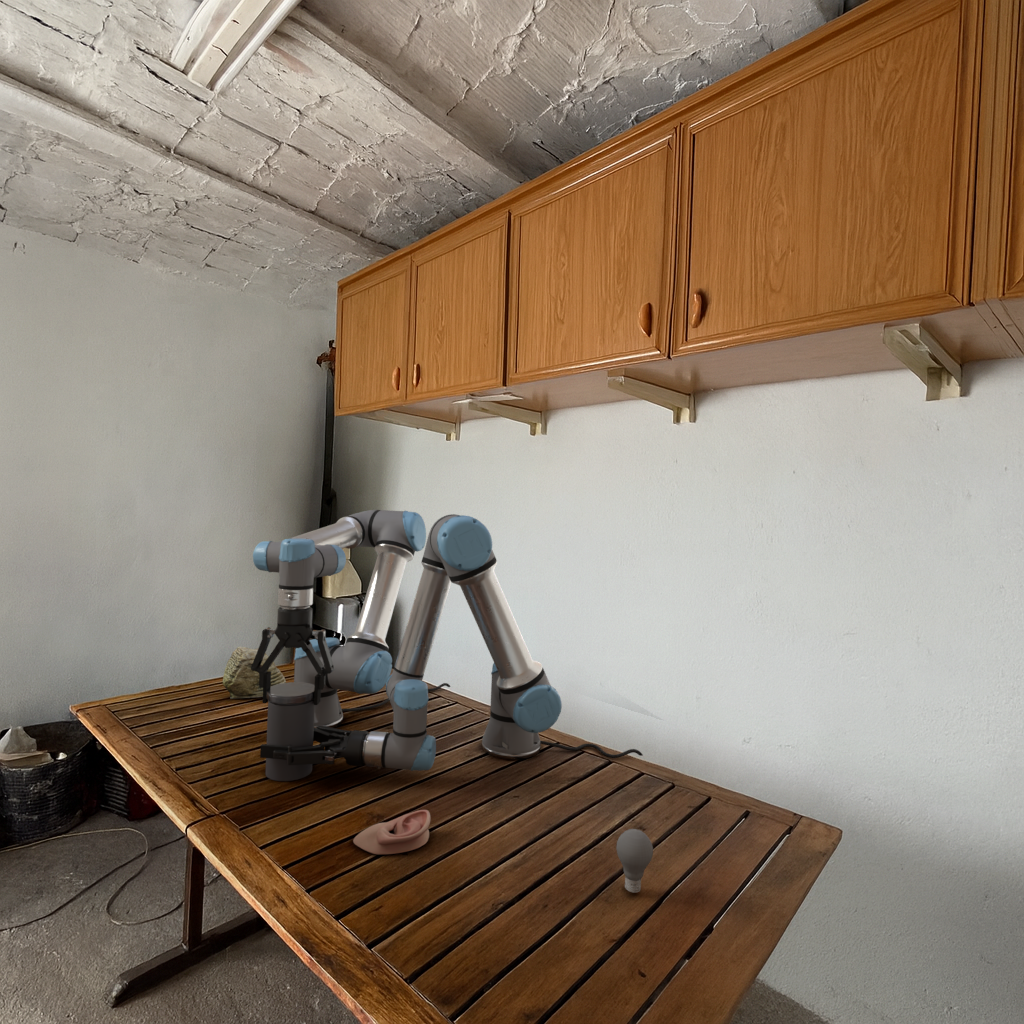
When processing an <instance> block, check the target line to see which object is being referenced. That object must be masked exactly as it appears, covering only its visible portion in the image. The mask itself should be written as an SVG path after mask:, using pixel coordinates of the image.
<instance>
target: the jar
mask: <svg viewBox="0 0 1024 1024" xmlns="http://www.w3.org/2000/svg"><path fill="white" fill-rule="evenodd" d="M314 711H315V705H314V699H312V700H310V701H307V702H303V703H296V704H278V703H273V702H270V701H268V702H267V723H266V724H267V725H266V745H280V746H289V745H291V747H292V748H299V747H307V746H314V742H313V737H314ZM311 773H313V764H306V765H287V760H285V759H271V758H265V776H266V778H267V779H269V780H272V781H276V782H292V781H297V780H301V779H303V778H306V777H307V776H310V774H311Z"/></svg>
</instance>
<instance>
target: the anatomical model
mask: <svg viewBox="0 0 1024 1024" xmlns="http://www.w3.org/2000/svg"><path fill="white" fill-rule="evenodd" d="M430 824H431V813H430V811H429V810H428V809H420V810H419V809H418V810H416V811H412V812H409V813H405V814H403V815H401V816H398V817H396V818H394V819H391V820H389V821H385V822H378V823H375V824H373V825H370V826H369V827H367V828H365V829H364V830H362V831H360V832H359V833H358V834H357V835H355V837H354V838H353V839H352V842H353V844H354V845H355V846H356V847H358V848H360V849H362V850H363V851H365V852H368V853H369V854H374V855H378V856H379V855H393V854H400V853H402V854H403V853H406V852H410V851H413V850H417V849H419V848H421V847H422V846H424V845H426V844H427V842H428V841H429V838H430V830H429V827H430Z"/></svg>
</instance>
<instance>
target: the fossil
mask: <svg viewBox="0 0 1024 1024" xmlns="http://www.w3.org/2000/svg"><path fill="white" fill-rule="evenodd" d="M258 648H259V647H258ZM258 648H251V647H247V646H246V647H245V646H238V647H237V648H236V649H235V650H233V651H232V653H231V656H230V657H229V659H228V660H227V663H226V666H225V668H224V671H223V675H222V676H223V677H222V685H223V687H224V688H225V690H226V691H228V693H229V698H230V699H250V698H263V688H260V687H259V673H258V672H256V671H252V670H251V666H252V664H253V661H254V659H255V656H256V654H257V651H258ZM269 656H270V655H268V654H267V652H265V655H264V658H263V660H262V663H261V665H263V664H264V663H265V661H266V660H267V658H268V657H269ZM267 672H271V686H274V685H277V684H281V683H287V680H286V678H285V676H284V674H283V673H282V672H281V669H279V668H278V667H277V665H276V663H275V661H274V662H273V663H272V664H271V666H270V667H269V669H268V670H267Z"/></svg>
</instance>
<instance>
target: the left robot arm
mask: <svg viewBox="0 0 1024 1024" xmlns="http://www.w3.org/2000/svg"><path fill="white" fill-rule="evenodd" d="M426 543H427V528H426V524H425V521H424V519H423V517H422V515H420V514H419V513H418V512H416V511H409V510H386V509H369V510H362V511H360V512H356V513H352V514H350V515H345V516H343V517H340V518H339V519H338V520H337V521H336V522H335V523H333V524H329V525H327V526H323V527H320V528H318V529H314V530H311V531H308V532H304V533H302V534H298V535H295V536H291V537H289V538H285V539H282V540H279V541H273V540H267V541H265V540H264V541H260V542H258V543H257V545H256V546H255V548H254V549H253V553H252V562H253V565H254V566H255V568H256V569H257V570H259V571H263V572H268V573H278V574H279V575H278V576H279V577H278V590H277V591H278V593H277V595H278V597H277V605H278V606H279V607H278V609H277V620H276V628H272V627H269V626H268V627H266V628H264V629H263V630H262V631H261V640H260V643H259V646H258V651H257V654H256V656H255V659H254V661H253V664H252V666H251V670H252V671H256V672H258V673H259V687H260V688H263V697H262V704H268V700H267V698H266V693H267V689H268V688H269V687H271V672H267V670H268V669H269V667H270V666H271V664H272V663H273V662H274V663H275V660H276V659H277V658H278V656H279V655H280V653H281V652H282V650H283V649H284V648H286V649H291V648H293V649H295V652H294V653H295V654H294V658H293V660H294V672H293V682H304V683H310V684H313V685H315V687H314V705H315V711H314V728H317V726H318V725H321V726H326V727H331V728H335V729H336V728H337V727H339V726H340V725H342V723H343V722H344V714H343V712H345V713H346V712H358V711H359V712H360V711H367V710H371V709H375V708H379V707H381V706H384V705H385V704H387V703H388V702H390V700H389V698H388V697H387V698H386V699H385V700H383V701H382V702H379V703H376V704H373V705H367V706H362V707H353V708H342V706H341V702H340V699H339V695H338V691H345V692H351V693H356V694H358V695H362V694H366V695H373V694H376V693H378V692H380V691H381V690H382V689H383V688H384V687H385V686H386V682H387V680H388V678H389V677H390V675H391V674H392V669H393V664H392V663H393V657H392V655H391V653H390V652H389V648H390V647H389V646H388V643H387V642H386V638H387V635H388V631H389V628H390V625H391V621H392V617H393V612H394V610H395V606H396V603H397V598H398V594H399V593H400V592H399V591H400V588H401V584H402V581H403V577H404V573H405V569H406V567H407V563H409V562H411V561H412V560H413V559H414V556H415V552H417V553H419V552H420V551H423V549H425V547H426ZM355 548H374V551H375V553H376V555H377V557H376V560H375V563H374V568H373V570H372V574H371V577H370V581H369V584H368V588H367V591H366V594H365V597H364V601H363V605H362V607H361V611H360V613H359V617H358V620H357V624H356V627H355V630H354V632H353V634H351V635H349V636H347V638H346V641H345V644H344V645H340V644H341V641H340V639H339V638H337V637H327V631H326V629H323V628H322V629H321V630H318V629H314V628H313V608H312V607H311V606H312V605H313V604H314V579H315V578H322V577H331V576H333V575H336V574H337V575H338V574H339V573H341V572H342V571H343V570H344V568H345V566H346V563H347V555H346V553H345V551H344V550H343V549H351V550H352V549H355ZM274 635H275V636H276V638H277V639H278V640H279V641H278V642H277V644H276V645H275V646H274V648H273V650H272V652H271V653H269V655H268V656H269V657H268V658H267V660H266V661H265V663H264V664H263V665H261V663H262V660H263V658H264V655H265V653H267V650H268V647H269V644H270V642H271V639H272V638H273V637H274ZM312 636H313V637H314V638H313V639H311V638H312ZM443 687H447V688H451V685H450V684H449V683H447V682H443V683H441V684H439V685H438V686H436V687H433V688H428V692H434V691H437V690H439V689H441V688H443ZM322 731H323V730H322Z"/></svg>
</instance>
